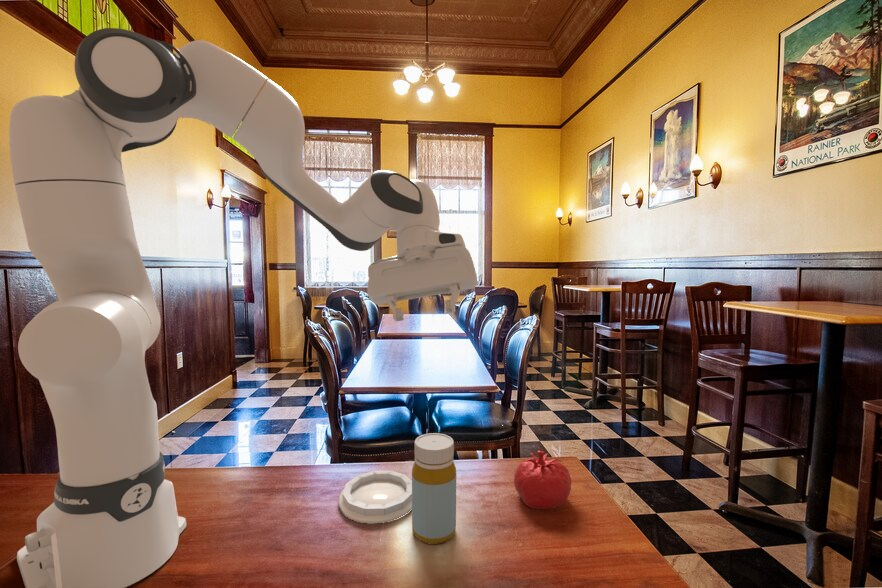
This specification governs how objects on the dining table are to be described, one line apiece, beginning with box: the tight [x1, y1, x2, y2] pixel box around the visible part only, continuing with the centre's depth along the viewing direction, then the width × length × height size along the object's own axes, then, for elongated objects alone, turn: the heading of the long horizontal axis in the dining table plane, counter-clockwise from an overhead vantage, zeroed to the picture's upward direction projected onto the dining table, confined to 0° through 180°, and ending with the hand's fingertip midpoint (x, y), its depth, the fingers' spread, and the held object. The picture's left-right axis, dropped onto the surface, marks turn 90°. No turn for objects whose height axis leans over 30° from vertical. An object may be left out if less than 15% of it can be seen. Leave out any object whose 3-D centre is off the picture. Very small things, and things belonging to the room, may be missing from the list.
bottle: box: [411, 432, 457, 545], centre depth 66 cm, size 7×7×15 cm
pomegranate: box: [513, 450, 572, 510], centre depth 76 cm, size 10×10×9 cm
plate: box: [338, 469, 412, 525], centre depth 76 cm, size 14×14×2 cm
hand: (424, 315), depth 73 cm, fingers open, 8 cm apart
